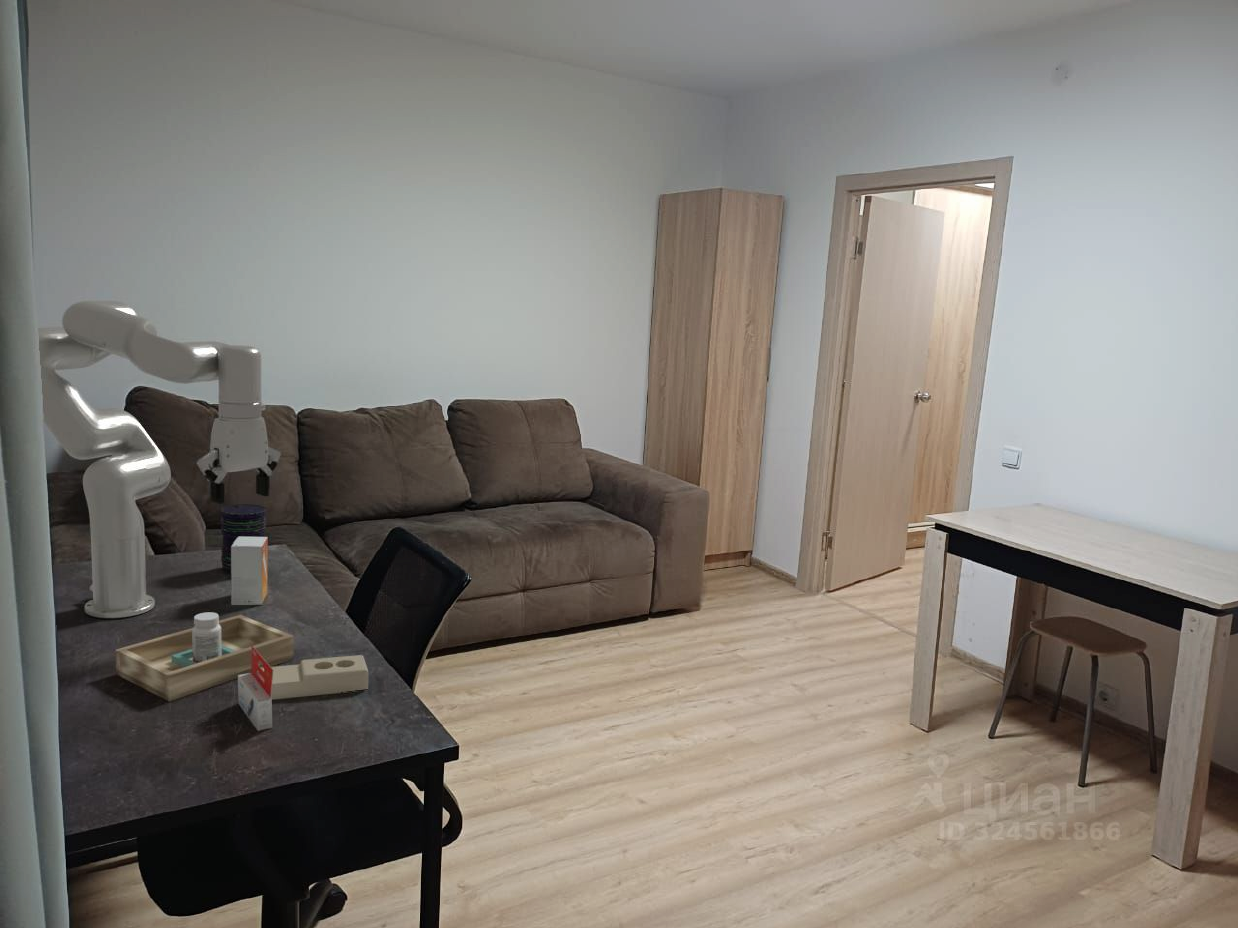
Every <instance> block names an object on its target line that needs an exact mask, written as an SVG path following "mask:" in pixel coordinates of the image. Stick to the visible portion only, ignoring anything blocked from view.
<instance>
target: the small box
mask: <svg viewBox="0 0 1238 928" xmlns="http://www.w3.org/2000/svg"><path fill="white" fill-rule="evenodd" d="M268 538H269V537H268V536H265V537H241V536H239V537H238V538H237V539H236V540H235V541H234V543H233V545H232V546H231V576H230V578H231V593H230V594H231V595H230V597H231V600H230V601H231V603H230V604H231V606H261V605H263V603H264V600H265V598H266V597H267V595H268V550H269V549H268V547H269V545H268V543H269V542H268V541H269V539H268Z"/></svg>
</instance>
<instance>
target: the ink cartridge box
mask: <svg viewBox="0 0 1238 928" xmlns="http://www.w3.org/2000/svg"><path fill="white" fill-rule="evenodd" d="M259 661H262V664H263V667H264V671H263V670H262V669H261V667H260V666H259ZM272 681H273V669H272V668H271V667H270V665H269V664H268V663H267V662H266V661H265V660H264V659H263V657H262V656H261V655H260V654H259V653H258V652H257V651H256V650H255V648H254V647H253V646H252V653H251V673H247V674H242V675H238V678H237V694H238V696H237V697H238V698H237V699H238V705H239V706H240V707H241V709H242V711H243V712H244V714H245V715H246V716H247V718H248V719H249V721H250V722H251V723H252V725H253V726H254V728H255V729H256V730H257V731H258V732H260V731H264V730H266V729H267V730H268V729H271V728H273V705H272V704H273V703H272V699H271V692H272Z"/></svg>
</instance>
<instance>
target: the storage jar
mask: <svg viewBox="0 0 1238 928" xmlns="http://www.w3.org/2000/svg"><path fill="white" fill-rule="evenodd" d="M266 512H267V510H266V507H265V506H263V505H259V504H251V503H249V504H248V503H247V504H246V503H245V504H244V503H243V504H242V503H241V504H231V505H227V506H224V507H222V508H221V511H220V513H221V515H220V516H221V518H220V526H221V529H220V531H221V533H222V548H221V555H220V557H221V558H220V559H221V560H220V562H221V566H222V568H221V573H222V574H223V575H226V576H229V577H231V546H232V545H233V543H234V541H235V540H236V539H237V538H238V537H239V536H241V537H266V534H265V533H266V531H267V526H266V525H267V518H266Z"/></svg>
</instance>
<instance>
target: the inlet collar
mask: <svg viewBox="0 0 1238 928" xmlns="http://www.w3.org/2000/svg"><path fill="white" fill-rule="evenodd" d="M221 649H222V655H225V654H229V653H232V652H235V650H233V649H230V648H228V647H226V646H223V645H221ZM190 658H193V651H192V649H191V650H187V651H184V652H181V653H177V654H174V655H171V661H172V662H173V663H175V664H178V665H180V666H182V667H187V666H191V665H194V664H197V663H196V662H194V661H192V660H189V659H190Z"/></svg>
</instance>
